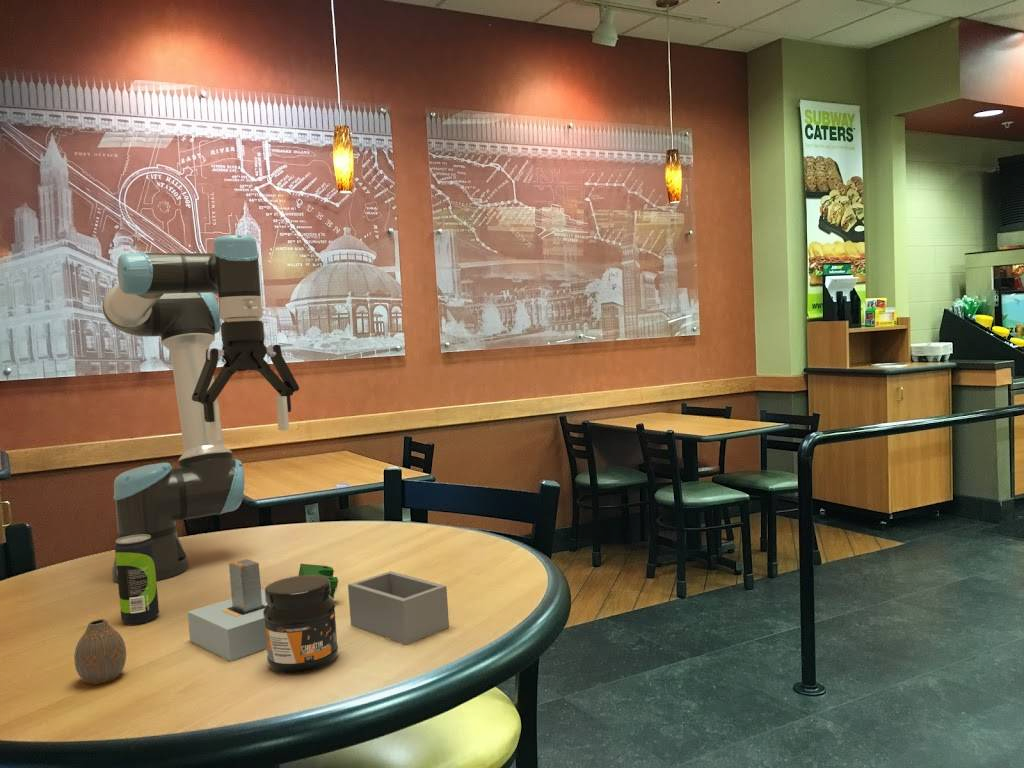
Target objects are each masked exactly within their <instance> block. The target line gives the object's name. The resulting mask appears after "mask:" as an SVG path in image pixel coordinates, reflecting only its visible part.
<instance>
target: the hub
mask: <svg viewBox="0 0 1024 768" xmlns="http://www.w3.org/2000/svg"><path fill="white" fill-rule="evenodd" d="M265 589H266V588H264V589H261V597H262V609H261V610H257V611H254V612H251V613H248V614H245V615H241V614H238V613H236V612H234V611H233V606H232V598H230V599H226V600H222V601H219V602H216V603H215V602H214V603H212V604H209V605H205V606H202V607H198V608H196V609H192V610H189V611H187V621H188V633H189V642H191V643H194V644H196V645H197V646H199V647H201V648H203V649H205V650H207V651H208V652H211V653H213V654H215V655H217V656H219V657H221V658H223V659H225V660H227V661H228V662H232V661H235V660H238V659H241V658H244V657H247V656H249V655H252V654H255V653H258V652H261V651H264V650H267V642H266V630H265V619H264V616H263V611H264V609H265V607H266V606H267V603H266V597H265Z"/></svg>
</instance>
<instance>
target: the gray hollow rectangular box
mask: <svg viewBox="0 0 1024 768" xmlns="http://www.w3.org/2000/svg"><path fill="white" fill-rule="evenodd" d="M447 587H448V586H447V585H444V584H440V583H436V582H433V581H429V580H425V579H422V578H418V577H414V576H410V575H408V574H403V573H401V572H395V571H392V570H389V571H387V572H383V573H380V574H377V575H374V576H371V577H370V576H369V577H368V578H364V579H361V580H358V581H355V582H352V583H348V584H347V588H348V591H347V592H348V601H349V602H348V603H349V605H348V606H349V615H350V616H349V617H350V625H351V626H352V627H356V628H359V629H361V630H364V631H367V632H370V633H373V634H375V635H377V636H381V637H383V638H385V639H389V640H392V641H395V642H397V643H400V644H403V645H406V646H407V645H410V644H412V643H414V642H418V641H419V640H422V639H424V638H427V637H429V636H432V635H434V634H437V633H439V632H441V631H444V630H447V629H449V628H450V621H449V620H450V618H449V605H448V592H447V591H448V590H447Z"/></svg>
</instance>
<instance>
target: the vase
mask: <svg viewBox="0 0 1024 768" xmlns="http://www.w3.org/2000/svg"><path fill="white" fill-rule="evenodd" d="M73 655H74V656H73V657H74V659H73V661H74V667H75V671H76V673H77V675H78V676H79V678H80V679H81V680H83V681H84V682H85V683H87V684H89V683H90V684H89V685H94V684H95V685H98V684H97V683H103V684H105V683H104V682H107V683H108V681H109V682H112V681H114V680H115V679H116V678H118V676H119V675H120V674H121V673H122V671H123V670H124V668H125V665H126V660H127V647H126V644H125V640H124V638H123V637H122V636H121V634H120V633H119V632H118V631H117V630H116V629H115V628H114V627H112V626H111V625H110V623H109V622H108V621H107V619H105V618H100V619H93V620H91V621H90V622H88V624H87V626H86V629H85V631H84V633H83V634H82V636H81V637H80V639H78V642H77V644H76V646H75V650H74V654H73ZM113 679H114V680H113ZM111 680H112V681H111Z"/></svg>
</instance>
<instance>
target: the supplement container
mask: <svg viewBox="0 0 1024 768" xmlns="http://www.w3.org/2000/svg"><path fill="white" fill-rule="evenodd" d="M264 589H265V597H266V603H267V606H266V607H265V609H264V611H263V616H264V619H265V630H266V642H267V649H266V654H267V657H266V660H267V663H268V666H269V667H270V668H271V669H272V670H274V671H276V672H279V673H282V674H291V675H292V674H304V673H307V672H308V673H309V672H312V671H316V670H319V669H321V668H324V667H326V666H327V665H329V664H330V663H331V662H332V661H334V660H335V659H336V657H337V656H338V653H339V644H338V639H337V638H338V636H337V624H336V611H335V609H336V602H335V599H333V598H332V597H331V596H330V593H331V589H330V581H329V579H328V578H326V577H323V576H317V575H303V576H298V575H296V576H289V577H286V578H285V577H284V578H282V579H278V580H276V581H273V582H272V583H270V584H268V585H267V586H266V587H265V588H264Z"/></svg>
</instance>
